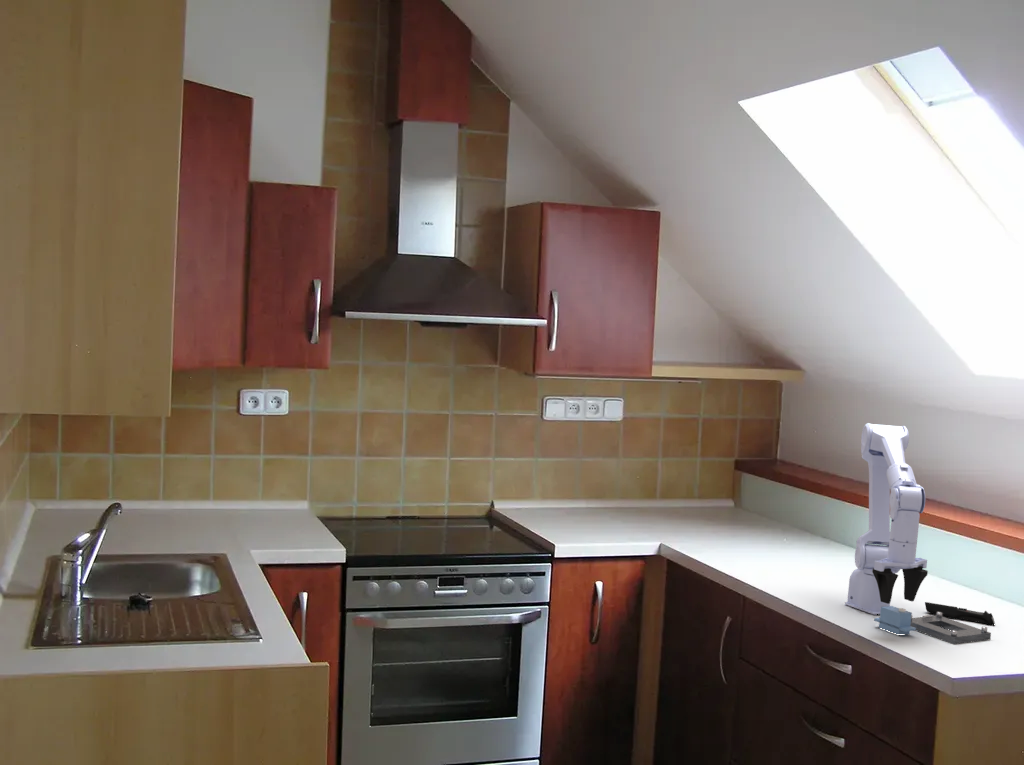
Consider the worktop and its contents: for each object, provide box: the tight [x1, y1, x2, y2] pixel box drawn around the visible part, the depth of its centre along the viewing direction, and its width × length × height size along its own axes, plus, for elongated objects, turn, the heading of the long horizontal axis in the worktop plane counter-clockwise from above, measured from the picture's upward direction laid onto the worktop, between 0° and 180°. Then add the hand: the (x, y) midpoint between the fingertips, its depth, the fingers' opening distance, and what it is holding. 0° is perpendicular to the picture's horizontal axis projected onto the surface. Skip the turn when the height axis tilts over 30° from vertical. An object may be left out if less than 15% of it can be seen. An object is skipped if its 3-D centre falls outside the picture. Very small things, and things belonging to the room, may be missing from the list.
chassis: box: [910, 612, 992, 645], centre depth 248 cm, size 14×12×2 cm
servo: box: [873, 605, 916, 634], centre depth 246 cm, size 8×4×6 cm, turn 30°
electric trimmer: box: [924, 601, 996, 627], centre depth 262 cm, size 4×16×3 cm, turn 64°
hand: (897, 601), depth 245 cm, fingers open, 7 cm apart
